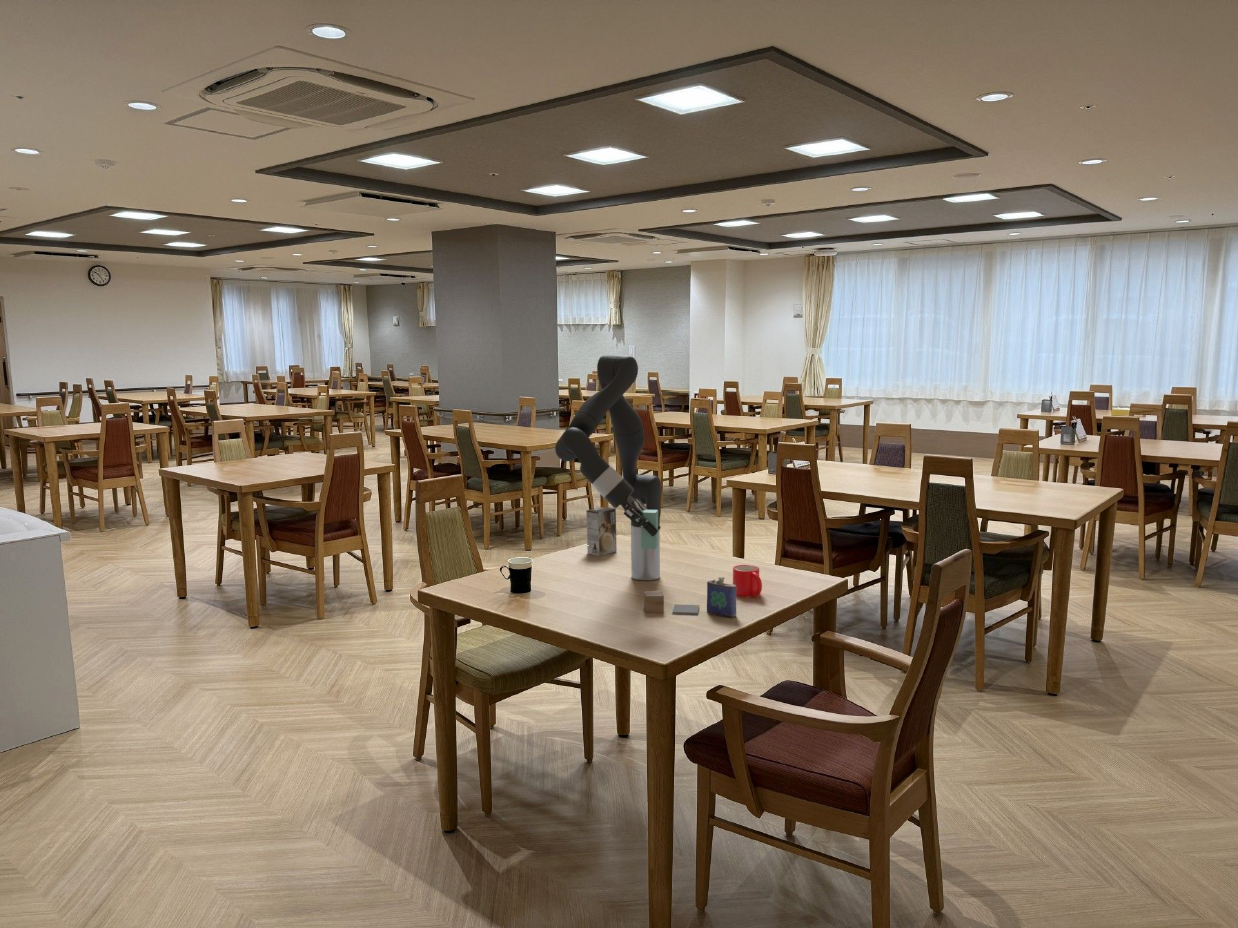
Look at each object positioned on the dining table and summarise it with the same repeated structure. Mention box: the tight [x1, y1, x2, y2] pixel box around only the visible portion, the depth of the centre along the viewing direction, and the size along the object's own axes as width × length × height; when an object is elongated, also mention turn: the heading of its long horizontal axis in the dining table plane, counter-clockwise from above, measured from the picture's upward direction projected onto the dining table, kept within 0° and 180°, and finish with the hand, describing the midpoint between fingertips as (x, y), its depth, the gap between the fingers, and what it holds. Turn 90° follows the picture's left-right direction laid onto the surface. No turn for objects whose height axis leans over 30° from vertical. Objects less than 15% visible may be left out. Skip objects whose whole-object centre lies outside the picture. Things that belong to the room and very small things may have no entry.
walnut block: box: [643, 590, 665, 614], centre depth 245 cm, size 5×5×5 cm
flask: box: [706, 576, 737, 619], centre depth 240 cm, size 9×3×11 cm, turn 51°
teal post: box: [641, 510, 658, 549], centre depth 236 cm, size 4×4×10 cm
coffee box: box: [586, 506, 618, 557], centre depth 312 cm, size 9×6×16 cm
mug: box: [732, 564, 763, 598], centre depth 258 cm, size 8×12×8 cm, turn 27°
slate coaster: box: [671, 603, 700, 616], centre depth 244 cm, size 7×7×1 cm
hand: (656, 531), depth 236 cm, fingers closed on teal post, 4 cm apart
